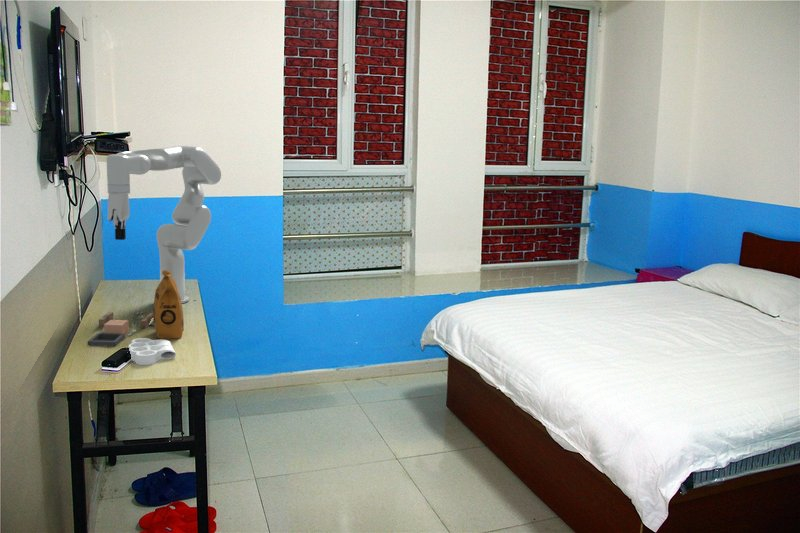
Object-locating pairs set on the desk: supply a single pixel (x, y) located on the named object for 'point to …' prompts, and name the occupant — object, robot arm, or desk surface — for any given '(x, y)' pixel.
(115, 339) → the grey shallow tray
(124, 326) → the push block
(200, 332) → the desk surface
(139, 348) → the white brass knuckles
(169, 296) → the coffee package
